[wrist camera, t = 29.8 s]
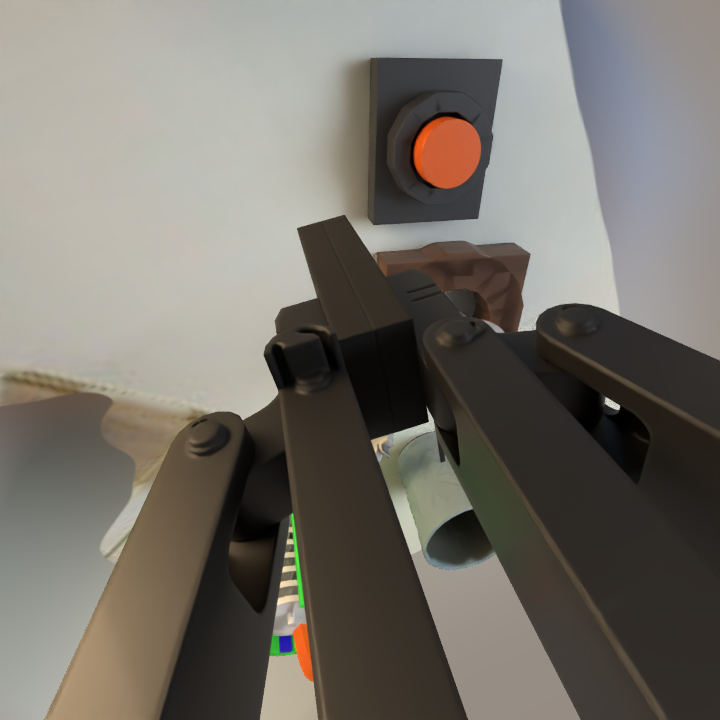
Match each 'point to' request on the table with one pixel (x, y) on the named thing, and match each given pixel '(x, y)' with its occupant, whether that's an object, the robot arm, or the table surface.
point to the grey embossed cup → (441, 508)
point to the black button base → (408, 117)
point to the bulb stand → (471, 275)
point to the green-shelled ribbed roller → (291, 610)
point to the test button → (447, 152)
